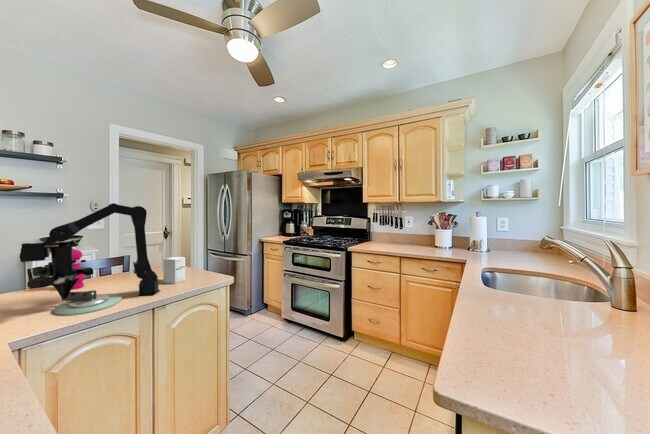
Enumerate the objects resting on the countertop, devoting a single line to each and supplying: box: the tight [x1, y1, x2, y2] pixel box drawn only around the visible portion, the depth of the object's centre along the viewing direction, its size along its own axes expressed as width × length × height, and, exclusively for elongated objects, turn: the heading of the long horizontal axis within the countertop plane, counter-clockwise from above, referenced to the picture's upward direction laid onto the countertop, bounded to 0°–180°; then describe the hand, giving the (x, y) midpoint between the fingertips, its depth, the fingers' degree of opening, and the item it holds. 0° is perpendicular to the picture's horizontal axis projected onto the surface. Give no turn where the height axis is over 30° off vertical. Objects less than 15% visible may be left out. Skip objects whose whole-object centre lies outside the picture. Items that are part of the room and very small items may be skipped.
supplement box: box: [162, 256, 186, 285], centre depth 135 cm, size 7×7×13 cm
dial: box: [61, 289, 109, 308], centre depth 103 cm, size 16×12×4 cm
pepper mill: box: [71, 246, 86, 291], centre depth 124 cm, size 7×7×20 cm
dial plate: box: [53, 293, 123, 317], centre depth 103 cm, size 20×20×1 cm
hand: (64, 298), depth 100 cm, fingers closed
